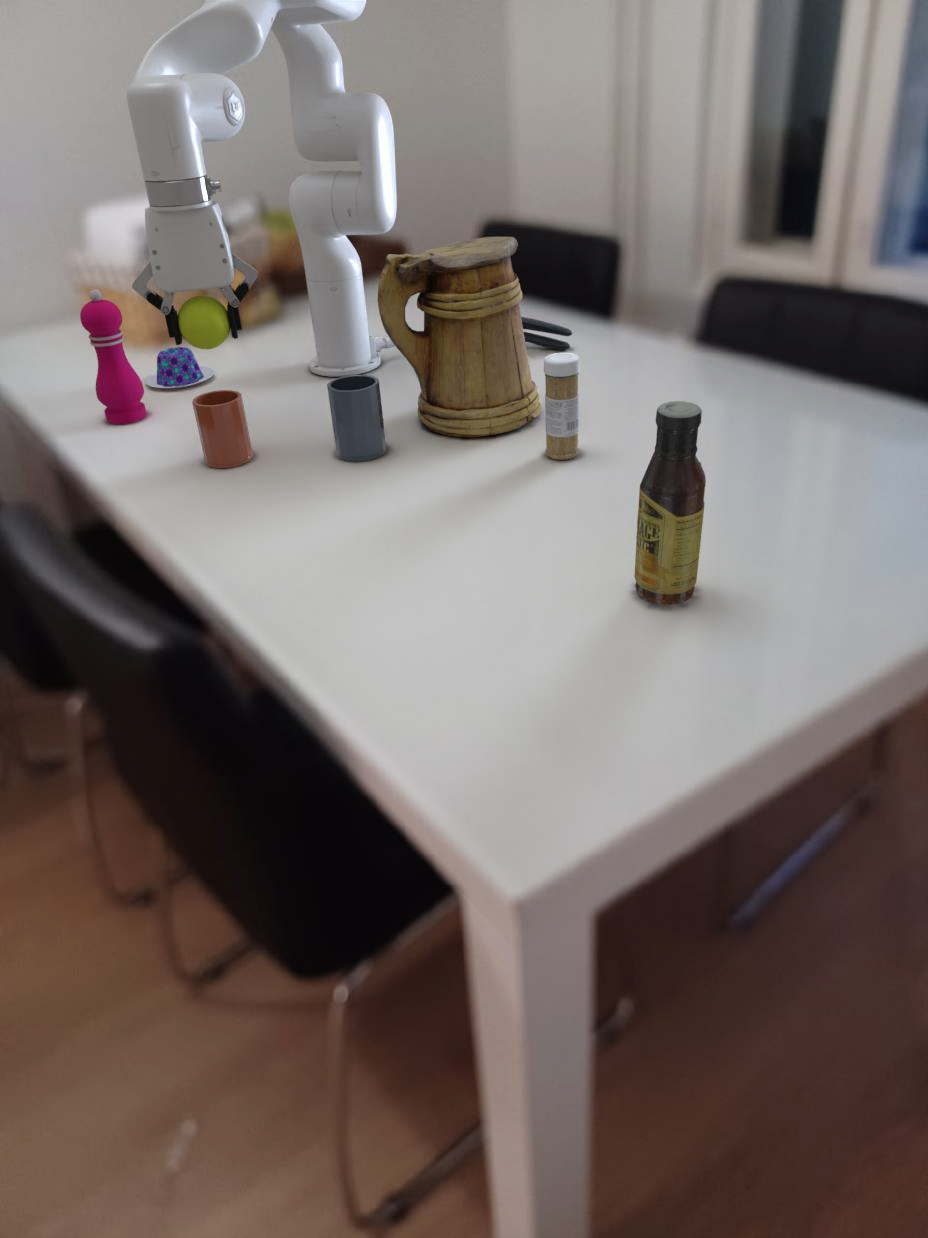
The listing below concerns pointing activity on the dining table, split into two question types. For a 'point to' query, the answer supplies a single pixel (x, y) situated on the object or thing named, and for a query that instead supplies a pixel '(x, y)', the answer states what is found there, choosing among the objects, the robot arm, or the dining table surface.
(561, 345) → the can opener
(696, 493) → the sauce bottle
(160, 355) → the pudding
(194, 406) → the terracotta cup
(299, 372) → the dining table surface
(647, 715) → the dining table surface
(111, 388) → the pepper mill
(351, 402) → the grey cup
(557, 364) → the sprinkles bottle
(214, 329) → the ball
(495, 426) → the tankard
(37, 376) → the dining table surface
